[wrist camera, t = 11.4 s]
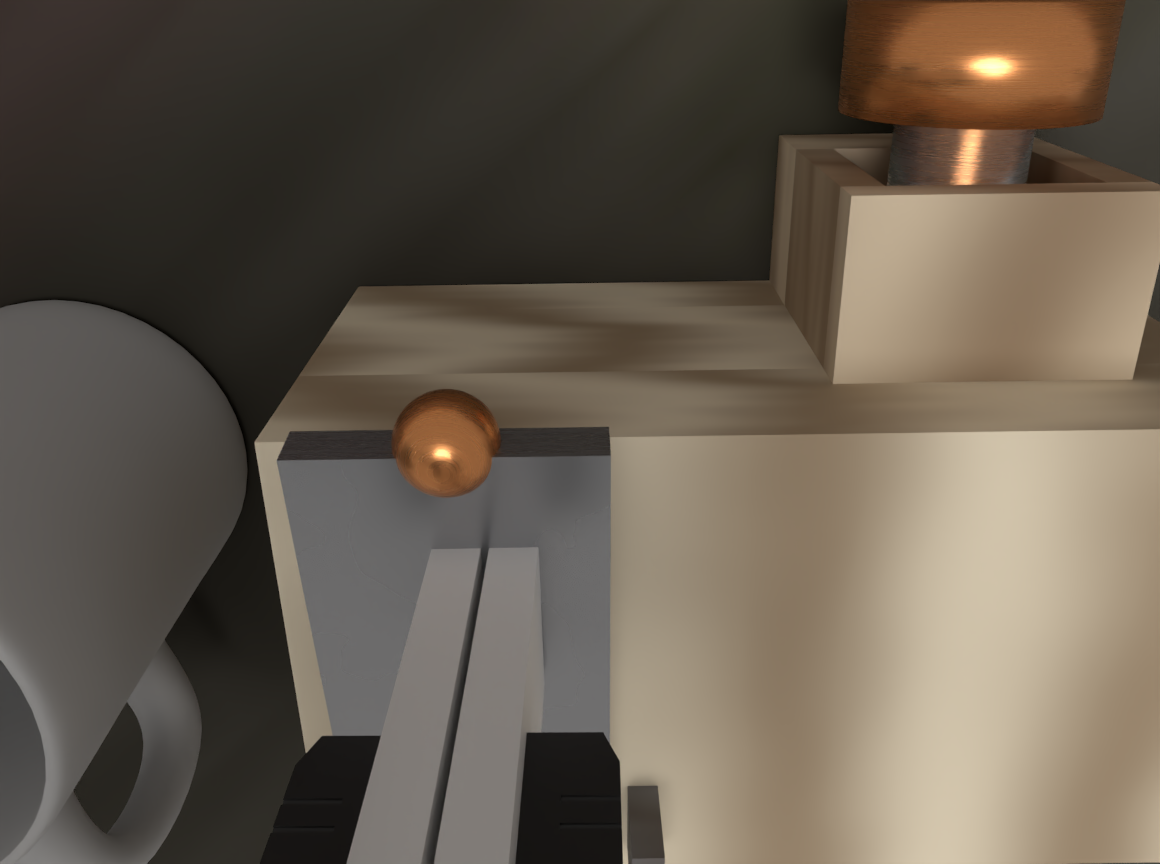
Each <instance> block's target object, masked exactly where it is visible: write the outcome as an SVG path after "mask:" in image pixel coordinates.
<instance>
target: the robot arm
mask: <svg viewBox="0 0 1160 864" xmlns="http://www.w3.org/2000/svg"><path fill="white" fill-rule="evenodd" d="M544 685H545V683H544V659H543V636H542V612H541V589H540V569H539V549H538V547H522V548H489V551H488V557H487V563H486V568H485V574H484V580H483V569H482V558H481V548H466V549H431V552H430V556H429V560H428V563H427V567H426V571H425V574H424V578H423V582H422V586H421V589H420V593H419V597H418V600H417V604H416V608H415V611H414V615H413V619H412V623H411V626H410V630H409V634H408V637H407V641H406V645H405V649H404V652H403V656H402V660H401V663H400V667H399V671H398V674H397V678H396V682H395V686H394V689H393V693H392V697H391V700H390V704H389V708H388V711H387V715H386V719H385V723H384V726H383V730H382V734H381V736H321V737H320V739H319V740H318V741H317V742H316V743H315V744H314V745H313V746H312V747H311V749H310V750H309V751H308V752H307V753H306V754H305V755H304V756H303V757H302V758H301V760H300V761H299V762H298V763H297V764H296V765H295V768H294V771H293V774H292V776H291V779H290V782H289V785H288V787H287V790H286V793H285V796H284V798H283V800H284V801H283V805H281V807H280V809H279V812H278V815H277V818H276V820H275V823H274V826H273V827H274V829H273V833H271V834H270V837H269V840H268V842H267V845H266V848H265V851H264V853H263V856H262V859H261V862H260V864H623V848H622V814H621V780H620V761H619V759H618V757H617V755H616V754H615V752H614V750H613V749H612V747H611V745H610V743H609V742H608V740H607V738H606V736H605V735H604V733H603V732H541V728H542V714H543V699H544Z"/></svg>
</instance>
